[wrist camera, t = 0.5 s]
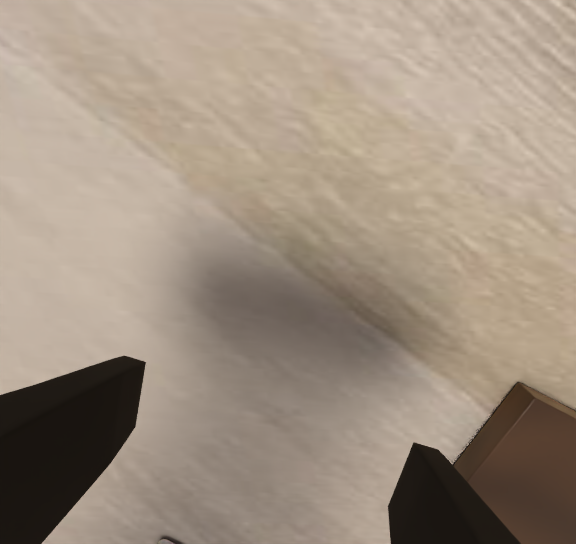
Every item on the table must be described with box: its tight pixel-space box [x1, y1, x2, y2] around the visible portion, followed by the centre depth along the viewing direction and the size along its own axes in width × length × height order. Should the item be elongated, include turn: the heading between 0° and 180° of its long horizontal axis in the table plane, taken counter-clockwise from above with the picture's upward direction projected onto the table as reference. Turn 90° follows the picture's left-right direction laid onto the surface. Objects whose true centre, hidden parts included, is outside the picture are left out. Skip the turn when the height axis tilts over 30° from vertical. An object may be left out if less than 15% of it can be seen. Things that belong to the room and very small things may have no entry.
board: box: [454, 383, 576, 544], centre depth 18 cm, size 12×13×2 cm
